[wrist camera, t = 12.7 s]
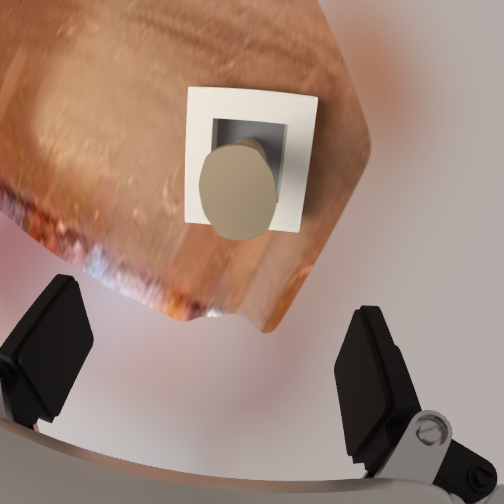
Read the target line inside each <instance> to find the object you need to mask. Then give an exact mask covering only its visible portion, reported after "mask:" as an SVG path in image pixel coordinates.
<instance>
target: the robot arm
mask: <svg viewBox="0 0 504 504" xmlns="http://www.w3.org/2000/svg"><path fill="white" fill-rule="evenodd" d="M93 341H94V337H93V334H92V330H91V327H90V324H89V321H88V317H87V314H86V310H85V307H84V303H83V299H82V296H81V292H80V288H79V284H78V282H77V281H75V279H74V277H73V276H69V275H63V274H57V275H56V276H55V277H54V278H53V280H52V281H51V282H50V283H49V285H48V286H47V287H46V288H45V290H44V291H43V292H42V293H41V294H40V296H39V297H38V298H37V299H36V301H35V302H34V303H33V304H32V306H31V307H30V308H29V309H28V311H27V312H26V313H25V315H24V316H23V317H22V319H21V320H20V321H19V322H18V324H17V325H16V327H15V328H14V329H13V331H12V332H11V333H10V335H9V336H8V338H7V339H6V340H5V342H4V343H3V345H2V346H1V347H0V504H504V485H503V484H501V485H499V486H498V484H497V472H496V469H495V468H494V466H493V465H492V464H491V463H490V462H489V461H488V460H486V459H484V458H483V457H481V456H479V455H478V454H476V453H474V452H473V451H471V450H469V449H468V448H466V447H464V446H463V445H461V444H459V443H458V442H456V441H454V440H453V439H451V438H452V428H451V425H450V423H449V421H448V420H447V419H446V418H445V417H444V416H443V415H441V414H440V413H438V412H436V411H432V410H431V411H430V410H425V411H422V410H421V407H420V404H419V401H418V398H417V395H416V392H415V389H414V386H413V384H412V381H411V378H410V375H409V372H408V370H407V367H406V364H405V361H404V359H403V357H402V354H401V351H400V349H399V347H398V346H396V345H395V344H394V342H393V339H392V337H391V334H390V332H389V329H388V327H387V324H386V322H385V319H384V317H383V314H382V312H381V309H380V308H379V307H378V306H365V305H363V306H361V307H360V309H359V310H355V311H354V314H353V317H352V320H351V322H350V325H349V328H348V331H347V333H346V336H345V339H344V342H343V344H342V347H341V350H340V352H339V355H338V357H337V360H336V362H335V366H334V374H335V380H336V386H337V392H338V398H339V404H340V410H341V416H342V422H343V429H344V435H345V443H346V450H347V454H348V455H349V456H352V458H353V463H354V464H355V463H364V465H365V470H367V471H366V473H365V474H364V476H363V477H362V478H361V479H346V480H326V481H264V480H246V479H234V478H223V477H213V476H206V475H198V474H191V473H184V472H178V471H172V470H167V469H162V468H156V467H151V466H147V465H142V464H137V463H134V462H130V461H126V460H122V459H118V458H114V457H110V456H107V455H103V454H100V453H96V452H93V451H90V450H87V449H83V448H80V447H77V446H74V445H71V444H69V443H66V442H63V441H60V440H57V439H55V438H52V437H49V436H47V435H44V434H42V433H39V429H38V426H37V420H38V418H40V419H42V420H44V421H47V422H50V423H52V422H53V420H54V417H56V416H58V415H59V413H60V412H61V409H62V407H63V405H64V403H65V401H66V399H67V396H68V394H69V392H70V390H71V388H72V386H73V384H74V382H75V380H76V378H77V375H78V373H79V371H80V369H81V367H82V365H83V363H84V361H85V359H86V357H87V355H88V353H89V351H90V350H91V348H92V346H93Z"/></svg>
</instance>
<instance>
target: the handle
mask: <svg viewBox="0 0 504 504" xmlns="http://www.w3.org/2000/svg"><path fill="white" fill-rule="evenodd" d="M199 194H200V199H201V204H202V208H203V211H204V214H205V216H206V218H207V219H208V221H209V222H210V224H211V225H212V226H213V228H214V229H215V230H216V231H217V233H218V234H219V235H220V236H222V237H224V238H227V239H231V240H247V239H252V238H255V237H258V236H260V235H262V234H264V233H265V232H266V231H267V230H268V229H269V226H270V224H271V221H272V218H273V216H274V213H275V209H276V202H277V199H276V190H275V181H274V174H273V171H272V169H271V168H270V166H269V164H268V162H267V159H266V154H265V151H264V149H263V147H262V145H261V144H260V143H259V142H257V141H256V140H255V138H252V137H251V138H244V139H239V140H238V141H236V142H235V143H231V144H226V145H223V146H220V147H218V148H216V149H215V150H213V151H212V152H211V153H209V154H208V155H207V156H206V158H205V160H204V164H203V167H202V170H201V174H200V178H199Z"/></svg>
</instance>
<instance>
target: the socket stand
mask: <svg viewBox="0 0 504 504" xmlns="http://www.w3.org/2000/svg"><path fill="white" fill-rule="evenodd" d="M317 104H318V97H314V96H309V95H302V94H294V93H286V92H277V91H267V90H256V89H244V88H227V87H200V86H198V87H188V103H187V124H186V154H185V222H190V223H202V224H210V222H209V221H208V219H207V218H206V216H205V214H204V211H203V208H202V204H201V199H200V194H199V178H200V174H201V170H202V167H203V164H204V160H205V158H206V156H207V155H208V154H209V153H211V152H212V151H213V150H215V149H216V148H218V147H220V146H223V145H226V144H231V143H235V142H236V141H238V140H239V139H244V138H251V137H252V138H255V140H256V141H257V142H259V143H260V144H261V145H262V147H263V149H264V151H265V154H266V159H267V162H268V164H269V166H270V168H271V169H272V171H273V174H274V181H275V190H276V199H277V202H276V209H275V213H274V216H273V218H272V221H271V224H270V226H269V229H268V230H279V231H289V232H299V229H300V222H301V216H302V210H303V204H304V197H305V191H306V184H307V177H308V171H309V164H310V157H311V149H312V142H313V135H314V127H315V119H316V112H317Z"/></svg>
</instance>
